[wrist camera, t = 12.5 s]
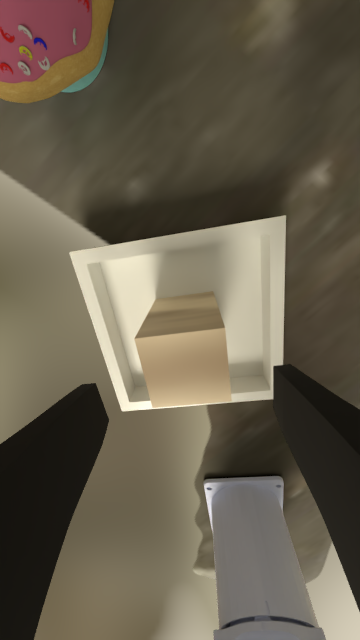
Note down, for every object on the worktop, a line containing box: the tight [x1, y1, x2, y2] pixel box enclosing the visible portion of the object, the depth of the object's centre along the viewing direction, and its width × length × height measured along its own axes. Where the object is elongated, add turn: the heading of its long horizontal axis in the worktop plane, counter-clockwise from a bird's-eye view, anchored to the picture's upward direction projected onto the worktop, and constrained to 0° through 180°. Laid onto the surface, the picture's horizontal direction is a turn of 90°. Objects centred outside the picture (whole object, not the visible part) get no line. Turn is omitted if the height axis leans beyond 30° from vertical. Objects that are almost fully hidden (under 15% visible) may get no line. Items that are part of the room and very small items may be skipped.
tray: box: [69, 215, 286, 411], centre depth 15 cm, size 12×12×2 cm
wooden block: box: [134, 291, 232, 408], centre depth 13 cm, size 4×4×6 cm
